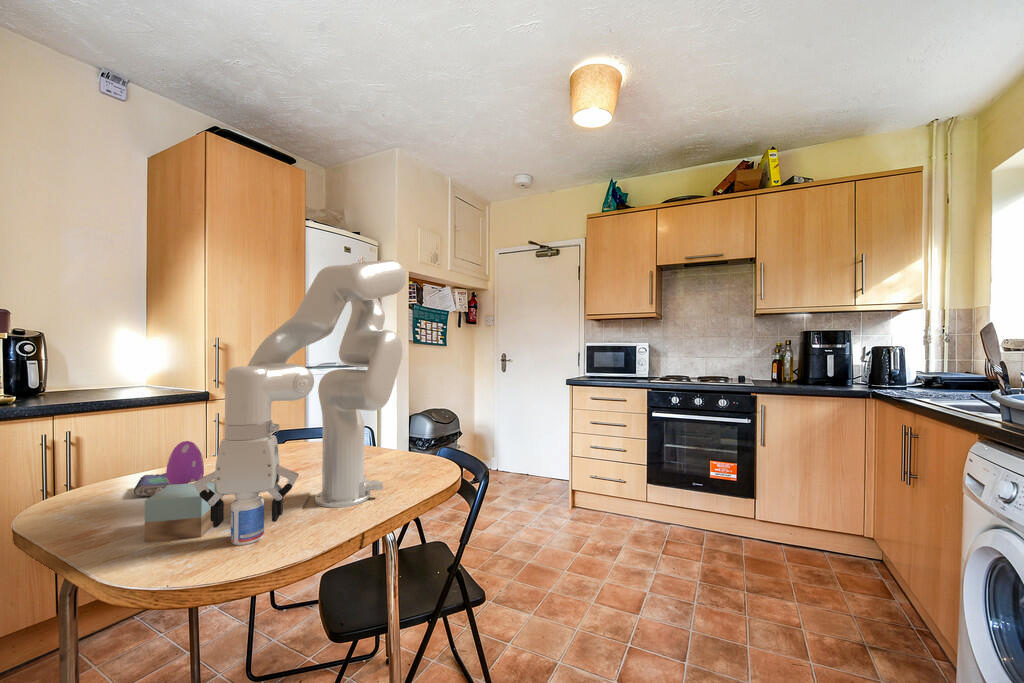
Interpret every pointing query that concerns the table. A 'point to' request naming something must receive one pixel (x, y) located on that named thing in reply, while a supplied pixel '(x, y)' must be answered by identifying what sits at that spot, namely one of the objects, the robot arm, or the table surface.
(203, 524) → the tower base
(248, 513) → the pill bottle
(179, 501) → the tower top
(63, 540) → the table surface
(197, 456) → the toy
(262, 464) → the robot arm
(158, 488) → the flask
